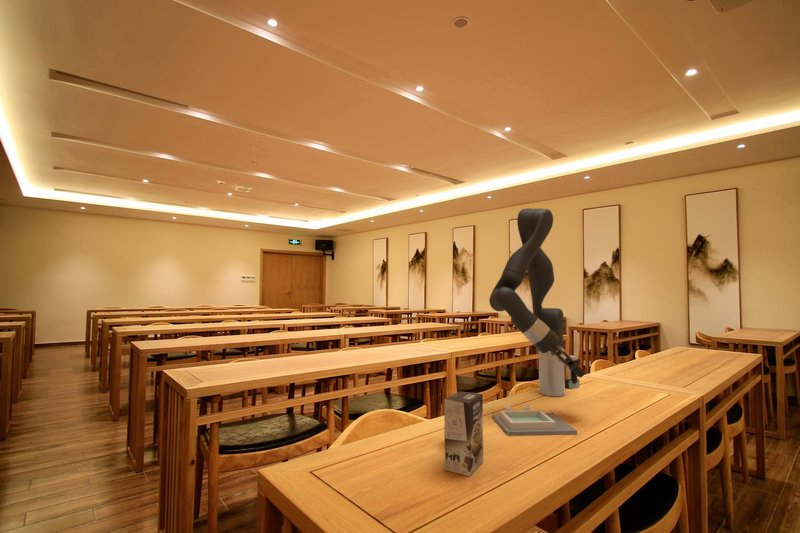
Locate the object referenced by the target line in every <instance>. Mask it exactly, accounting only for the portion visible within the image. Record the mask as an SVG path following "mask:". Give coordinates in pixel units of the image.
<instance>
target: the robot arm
mask: <svg viewBox="0 0 800 533" xmlns="http://www.w3.org/2000/svg"><path fill="white" fill-rule="evenodd" d="M516 220H517V221H516V222H517V230H518V233H519V238H520V241H521V244H522V245H521V246H520V247H519V248H518V249H517V250H516V251H514V252H513V253H512V254H511V255H510V257H509V258H508V260H507V262H506V265H505V266H504V269H503V270H502V274H501V275H500V277H499V279H498V281H497V283H496V284H495V286H494V288H493V289H492V292H491V293H490V296H489V306H490V307H491V309H492V310H494V311H496V312H506V313H507V314H508V315H509V316H510V322H511V324H513V326H514V327H516V329H518V331H519V332H520V333H521V334H523V336H524V337H525V339H527V340H528V342H530V343H531V345H533V347H535V348H536V349H537V350H538V383H539V384H538V387H539V389H538V391H539V394H540V395H543V396H547V397H563V396H565V394H566V393H565V383H564V380H565V366H566V365H567V366H568V367H569V369H571V370H572V371H573V372H574V373H575V374H576V375H577V378H578V377H579V379H581V378H583V377H584V375H586V372H585V371H584V370H583V369H582V368H581V367H579V365H578V366H577V364H576V362H574V361H573V360H572V359H571V356H572V355H571V356H570V354H569V353H568V352H567V351H565V349H564V324H565V323H564V322H565V320H564V319H565V318H564V312H563V310H562V309H561V308H557V307H553V308H552V307H551V308H550V307H543V302H544V299H545V298H546V297H547V294H548V293H549V292H550V290H551V289H552V287H553V284H554V283H555V274H554V266H553V265H554V264H553V263H552V261H551V259H550V257H549V256H548V255H547V253H545V251H544V250H543V249H542V248H541V247H542V245H544V244H543V243H544V242H545V240H546V238H547V237H548V236H549V233H551V230H552V228H553V224H554V216H553V213H552V211H551V209H548V208H534V207H533V208H522V209H521V210H519V212H518V214H517V219H516ZM526 274H527V277H528V278H527V280H528V283H529V288H530V289H529V290H530V296H531V303H532V304H531V305H532V310H530V309H528V307H527V305H526V304H525V302H524V301H523V299H522V298H521V297H520V295H519V294H518V293H517V292H516V290H517V288H519V287H520V286H521V284H522V283H523V281H524V278H525V276H526ZM570 361H571V362H572V364H571V365H568V363H569V362H570ZM567 366H566V367H567Z"/></svg>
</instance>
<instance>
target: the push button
mask: <svg viewBox="0 0 800 533" xmlns="http://www.w3.org/2000/svg"><path fill="white" fill-rule="evenodd" d="M569 355H570V354H569ZM570 356H571V359H572V360H573V361H574V362H576V364H577V366H578V367H579V366H580V364H581V359H579V358H578V356H577V355H570ZM571 364H572V362H571V361H570V362H569V363H568V365H571ZM565 366H566V378H565V379H564V389H565V390H566V389H567V390H576V389H579V388H580V386H581V384H580V383H581V381H580V378H578V376H577V375H576V374H575V373H574V372H573V371H572V370H571V369H569V367H568V366H567V365H565Z"/></svg>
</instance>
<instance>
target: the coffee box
mask: <svg viewBox="0 0 800 533" xmlns="http://www.w3.org/2000/svg"><path fill="white" fill-rule="evenodd" d="M443 400H444V410H443V411H444V416H443V418H444V419H443V420H444V467H443V468H444V471H447V472H451V473H455V474H458V475H463V476H466V477H470V476H471V475H472V474H473V473H474V472H475V471H476V470H477V469H478V468H479V467H480V466H481V465H482V464H483V463H484V417H483V416H484V414H483V413H484V412H483V411H484V404H483V401H484V399H483V394H482V393H477V392H468V391H467V392H465V391H461V390H459V391H457V392H455V393H453V394H451V395H450V396H448V397H446V398H445V399H443Z"/></svg>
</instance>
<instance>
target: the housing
mask: <svg viewBox="0 0 800 533" xmlns="http://www.w3.org/2000/svg"><path fill="white" fill-rule="evenodd" d="M505 406H506V407H505V408H506V410H499V413H491V417H492V419H493V421H495V423H496V424H497V426H499V427H500V428H501V430H502V431H503V432H504V433H505V434H506V436H508V437H509V436H553V435H554V436H555V435H578V430H577V429H576V428H574V427H573V426H571V425H570V424H569V423H567V422H566V421H565V420H563V419H562V418H561V417H559V416H558V415H557V414H556V413H554V412H544V411H542V410H541V409H535V410H534V409H532V410H531V405H530V404H525V405H524V409H523V410H522V409H519V410H513V409H512V404H511V405H510V404H507V405H505Z"/></svg>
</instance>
